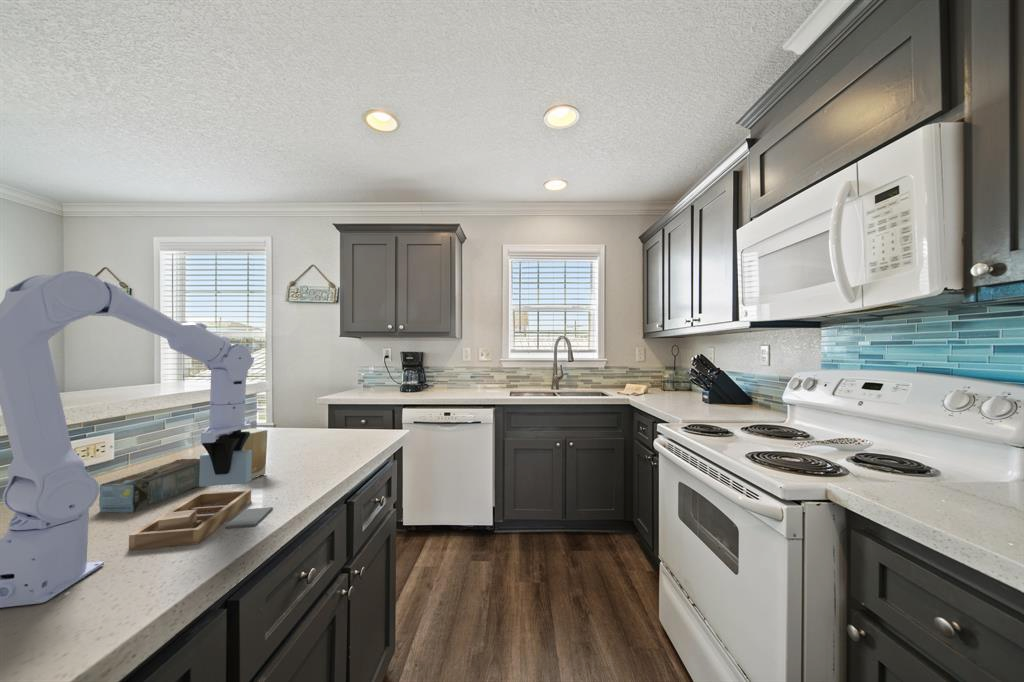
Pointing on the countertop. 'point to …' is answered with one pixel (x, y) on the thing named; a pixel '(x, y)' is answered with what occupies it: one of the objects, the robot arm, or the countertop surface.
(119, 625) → the countertop surface
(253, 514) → the mat
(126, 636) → the countertop surface
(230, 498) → the tray
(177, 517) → the offcut upper
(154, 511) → the countertop surface
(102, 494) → the beverage carton
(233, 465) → the pale blue block
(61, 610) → the countertop surface
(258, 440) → the skincare box
